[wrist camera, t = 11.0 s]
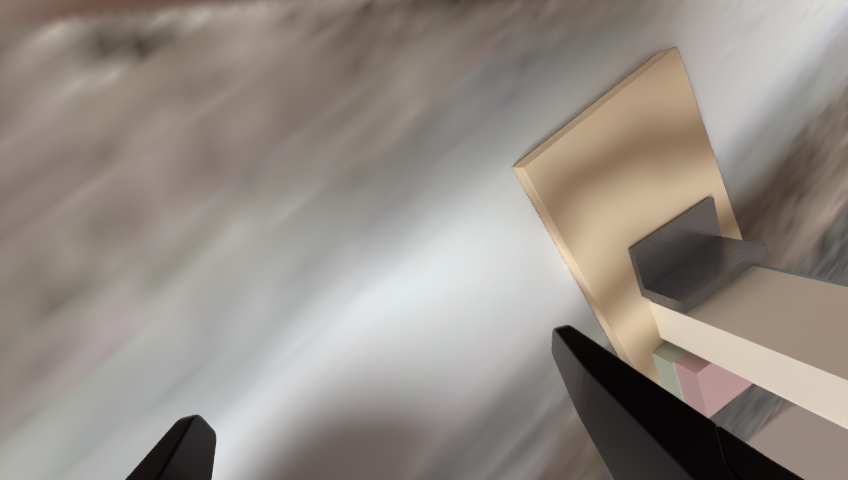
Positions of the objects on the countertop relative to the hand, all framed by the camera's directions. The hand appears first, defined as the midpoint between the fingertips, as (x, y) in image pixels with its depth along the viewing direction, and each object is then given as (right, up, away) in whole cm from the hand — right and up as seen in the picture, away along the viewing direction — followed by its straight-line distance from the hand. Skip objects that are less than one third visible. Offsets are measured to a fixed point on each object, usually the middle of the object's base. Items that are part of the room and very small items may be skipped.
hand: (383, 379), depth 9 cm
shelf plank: (+17, +3, +16) cm, 24 cm away
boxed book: (+20, 0, +16) cm, 25 cm away
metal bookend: (+18, +3, +15) cm, 23 cm away
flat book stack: (+21, -4, +18) cm, 28 cm away
